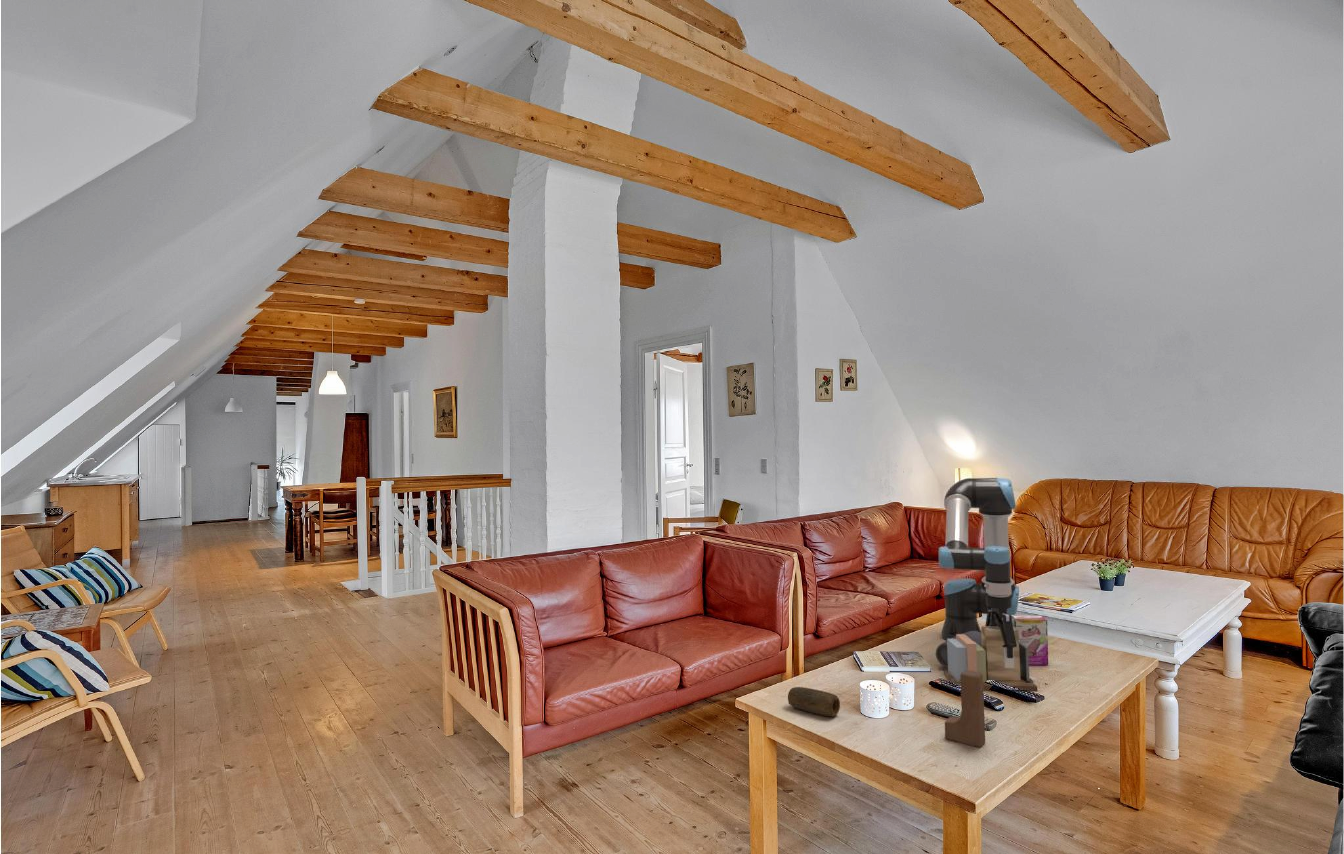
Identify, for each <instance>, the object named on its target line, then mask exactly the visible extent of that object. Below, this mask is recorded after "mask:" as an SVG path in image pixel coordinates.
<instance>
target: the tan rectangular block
mask: <svg viewBox="0 0 1344 854" xmlns="http://www.w3.org/2000/svg"><path fill="white" fill-rule="evenodd" d="M980 629H981V639H982V648H983V649H984V650H985V652H986V678H987V680H1011V681H1021V678H1020V656H1019V634H1018V630H1017V629H1016V628H1014V627H1013V630H1014V634H1015V639H1016V644H1017V647H1014V648H1013V650H1014V668H1005V667H1004V647H1003V645H1005V644H1004V641H1003V637H1002V634H1001V630H1000V628H999V627H998V626H985V625H984V626H980Z"/></svg>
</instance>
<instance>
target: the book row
mask: <svg viewBox="0 0 1344 854" xmlns="http://www.w3.org/2000/svg"><path fill="white" fill-rule="evenodd" d="M946 641H947V654H948V668H947V671H948V672H949V673H950V674H951V675H952V676H953V677H954V678H955V679H956V681H957V682H961V679H960V674H961V673H962V672H963V671H965V670H970V671H975V672H981V673H982V674H983V682H986V681H987V678H986V652H985V650H984V649H983V648H982V647H981V646H979V645H978V644H977V643H976V642H974V641H972V640H971V639H970V638H969V637H967V636H966V635H965V634H956V639H947V640H946Z"/></svg>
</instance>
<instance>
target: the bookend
mask: <svg viewBox="0 0 1344 854" xmlns="http://www.w3.org/2000/svg"><path fill="white" fill-rule="evenodd" d="M1019 656H1020V678H1022V679H1023V680H1024V681H1025V682H1027V683H1034V680H1033V679H1032V678H1031V677H1030V665H1029V655H1028V647H1026V646H1025V645H1023V644H1022V643H1020V642H1019ZM1034 684H1035V683H1034Z"/></svg>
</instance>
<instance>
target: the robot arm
mask: <svg viewBox="0 0 1344 854" xmlns="http://www.w3.org/2000/svg"><path fill="white" fill-rule="evenodd" d="M943 507H944V509H945V510H946V520H945V521H946V522H945V544H944V545H945V546H940V547H938V565H939V567H940V568H942V569H949V570H967V571H969V570H971V571H972V570H973V571H984V575H985V576H983V577H982V578H981V583H977V581H976V579H974V578H966V577H965V578H956V579H950V580H948V581H946V582H945V584H944V592H943V594H944V605H945V607H944V609H945V618H944V622H943V624H942V625H943V626H942V629H941V633H940V634H941V638H942V639H943V640H945V641H947V639H951V638H953V637H955V636H956V634H963V633H966V632H969V631H978V632H980V633H981V626H980V624H979V621H978V614H980V615H981V614H983V615H986V619H985V625H984V626H998V627H999V628H1000V630H1001V634H1002V637H1003V641H1004V644H1005V645H1003V647H1004V667H1005V668H1014V650H1013V648H1014V647H1017V644H1016V639H1015V634H1014V630H1013V625H1012V616H1011V615H1016V614H1017V611H1018V606H1019V595H1020V588H1019V586H1018V585H1017V584H1016V583H1015V580H1014V579H1013V578H1012V577H1011V554H1010V544H1009V543H1010V541H1009V540H1010V539H1009V517H1010V516H1011V515H1012V514H1013V510H1014V509H1015V510H1016V509H1017V505H1016V499H1015V493H1014V489H1013V483H1012V481H1011V480H1010V479H1009V478H1001V477H979V478H977V477H975V478H974V477H972V478H971V477H970V478H969V477H968V478H963V479H961V480H958V481H957V482H955V483H954V484H953V485H951V486H950V487H949V489H948V490H947V491H946V493H945V496H944V500H943ZM971 509H978V513H979V515H980V516H982V518H983V539H984V540H983V542H984V543H983V544H984V547H983V548H982V547H969V512H970V510H971Z"/></svg>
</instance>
